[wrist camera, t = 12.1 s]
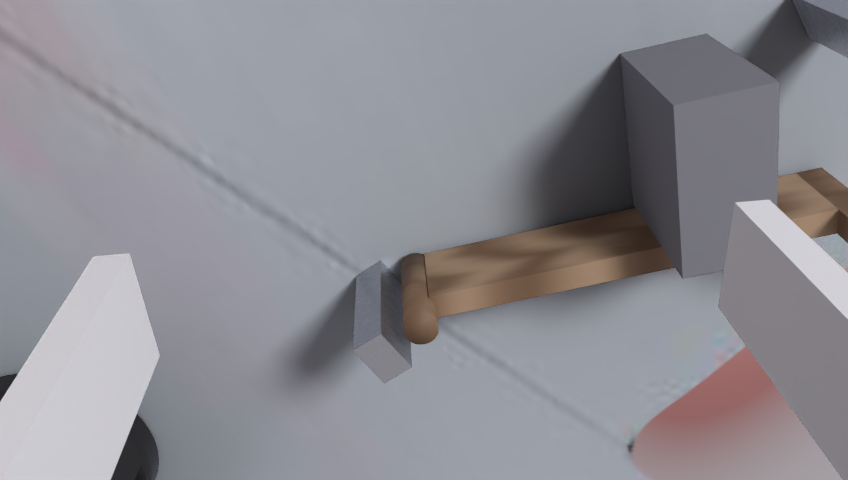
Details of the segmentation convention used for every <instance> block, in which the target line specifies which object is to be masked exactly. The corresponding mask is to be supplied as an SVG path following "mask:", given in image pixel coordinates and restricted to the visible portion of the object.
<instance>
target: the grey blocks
mask: <svg viewBox="0 0 848 480" xmlns="http://www.w3.org/2000/svg"><path fill="white" fill-rule="evenodd" d="M792 1H793V3H794V5H795V8H796V10H797V12H798V15H799V17H800V19H801V21H802V24H803V26H804V28H805V30H806V33H807V35H808V37H809V38H810V39H812V40H814V41H816V42H818V43H820V44H822V45H824V46H826V47H828V48H830V49H832V50H834V51H836V52H837V53H839V54H841V55H843V56H845V57H847V58H848V0H792ZM353 352H354V353H355V354H356V355H357V356H358V357H359V358H360V359H361V360H362V361H363V362H364V363H365V364H366V365H367V366H368V367H369V368H370V369H371V370H372V371H373V372H374V373H375V374H376V375H377V376H378V377H379V378H380V379H381V380H382V382H383V383H386V382H388V381H389V380H391V379H393V378H394V377H396V376H398V375H399V374H401V373H403V372H404V371H406V370H408V369H410V368H411V367H412V359H411V342H410V341H409V340H407V338H406V337H405V335H404V329H403V309H402V288H401V283H400V282H399V281H398V280H397V279H396V278H395V277H394V275H393V274H392V273H391V272H390V271H389V270H388V269H387V268H386V266H385V265H384V264H383V263H382V262H381V261H379V262H378V263H376V264H375V265H373V266H372V267H370V268H369V269H367V270H365V271H364V272H362V273H361V274H359V275H358V276H356V295H355V316H354V336H353Z"/></svg>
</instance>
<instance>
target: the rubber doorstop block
mask: <svg viewBox="0 0 848 480" xmlns="http://www.w3.org/2000/svg"><path fill="white" fill-rule="evenodd" d="M620 59H621V71H622V82H623V94H624V105H625V116H626V128H627V139H628V151H629V162H630V173H631V185H632V196H633V204H634V206H635V207H636V209H637V210H638V212H639V213H640V215H641V216H642V218H643V220H644V221H645V223H646V224H647V226H648V227H649V229H650V230H651V232H652V233H653V235H654V236H655V238H656V239H657V241H658V242H659V244H660V245H661V247H662V248H663V250H664V251H665V253H666V254H667V256H668V257H669V259H670V260H671V262H672V263H673V265H674V266H675V268H676V269H677V271H678V272H679V274H680V275H681V277H682V278H683V279H684V278H689V277H694V276H698V275H703V274H708V273H713V272H717V271H722V270H724V267H725V260H726V254H727V248H728V242H729V235H730V229H731V223H732V217H733V210H734V204H735V202H746V201H758V200H770V201H771V202H772V203H774V204H775V205H776V206H777V189H778V142H779V95H780V81H778V80H777V79H775V78H774V77H772V76H770V75H769V74H767V73H766V72H764V71H763V70H761V69H760V68H758V67H757V66H755V65H754V64H752V63H751V62H749V61H747V60H746V59H744V58H743V57H741V56H740V55H738V54H737V53H735V52H734V51H732V50H731V49H729V48H728V47H726V46H725V45H723V44H721V43H720V42H718V41H717V40H715V39H714V38H712V37H711V36H709V35H708V34H703V35H699V36H694V37H690V38H685V39H681V40H677V41H672V42H668V43H664V44H659V45H655V46H651V47H646V48H642V49H638V50H633V51H629V52H624V53H620Z"/></svg>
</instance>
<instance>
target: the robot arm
mask: <svg viewBox="0 0 848 480" xmlns="http://www.w3.org/2000/svg"><path fill="white" fill-rule="evenodd" d="M718 307H719V309H720V310H721V312H722V313H723V314H724V316H725V317H726V319H727V320H728V321H729V323H730V324H731V325H732V327H733V328H734V330H735V331H736V332H737V334H738V335H739V337H740V338H741V339H742V341H743V342H744V343H745V345H746V346H747V348H748V349H749V350H750V352H751V353H752V355H753V356H754V357H755V359H756V360H757V361H758V363H759V364H760V366H761V367H762V368H763V370H764V371H765V373H766V374H767V375H768V377H769V378H770V379H771V381H772V382H773V384H774V385H775V386H776V388H777V389H778V391H779V392H780V393H781V395H782V396H783V397H784V399H785V400H786V402H787V403H788V404H789V406H790V407H791V409H792V410H793V411H794V413H795V414H796V415H797V417H798V418H799V420H800V421H801V422H802V424H803V425H804V426H805V428H806V429H807V431H808V432H809V433H810V435H811V436H812V438H813V439H814V440H815V441H816V443H817V444H818V446H819V447H820V449H821V450H822V451H823V453H824V454H825V456H826V457H827V458H828V460H829V461H830V462H831V464H832V465H833V467H834V468H835V469H836V471H837V472H838V474H839V475H840V476H841V478H842V479H843V480H848V273H847V272H846V271H845V270H844V269H843V268H842V267H841V266H840V265H839V264H838V263H836V262H835V261H834V260H833V259H832V258H831V257H830V256H829V255H828V254H827V253H826V252H825V251H824V250H823V249H822V248H820V247H819V246H818V245H817V244H816V243H815V242H814V241H813V240H812V239H811V238H810V237H809V236H808V235H807V234H806V233H804V232H803V231H802V230H801V229H800V228H799V227H798V226H797V225H796V224H795V223H794V222H793V221H792V220H791V219H790V218H788V217H787V216H786V215H785V214H784V213H783V212H782V211H781V210H780V209H779V208H778V207H777V206H776V205H775V204H774V203H772V202H771V201H770V200H758V201H746V202H735V204H734V210H733V217H732V223H731V229H730V235H729V242H728V248H727V254H726V260H725V267H724V273H723V279H722V285H721V291H720V298H719V304H718ZM159 356H160V355H159V352H158V348H157V345H156V341H155V338H154V335H153V331H152V328H151V325H150V321H149V318H148V314H147V311H146V308H145V304H144V301H143V298H142V294H141V291H140V287H139V284H138V281H137V277H136V274H135V270H134V267H133V264H132V260H131V257H130V254H129V253H128V254H116V255H104V256H93V258H92V259H91V261H90V262H89V264H88V266H87V267H86V269H85V270H84V272H83V273H82V275H81V276H80V278H79V280H78V281H77V283H76V284H75V286H74V287H73V289H72V290H71V292H70V294H69V295H68V297H67V298H66V300H65V301H64V303H63V305H62V306H61V308H60V309H59V311H58V312H57V314H56V315H55V317H54V319H53V320H52V322H51V323H50V325H49V326H48V328H47V329H46V331H45V333H44V334H43V336H42V337H41V339H40V340H39V342H38V344H37V345H36V347H35V348H34V350H33V351H32V353H31V354H30V356H29V358H28V359H27V361H26V362H25V364H24V365H23V367H22V368H21V370H20V372H19V373H18V374H13V375H7V376H2V377H0V480H155V478H156V475H157V472H158V465H159V457H158V451H157V446H156V443H155V441H154V438H153V436H152V434H151V432H150V430H149V429H148V427H147V426H146V424H145V423H144V422H143V420H142V419H141V418H140V417H139V416H138V415H137V412H138V409H139V407H140V404H141V402H142V399H143V397H144V394H145V392H146V389H147V387H148V384H149V382H150V379H151V377H152V374H153V372H154V369H155V367H156V364H157V361H158V359H159Z"/></svg>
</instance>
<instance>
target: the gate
mask: <svg viewBox="0 0 848 480" xmlns="http://www.w3.org/2000/svg"><path fill="white" fill-rule="evenodd" d="M777 207H778V208H779V209H780V210H781V211H782V212H783V213H784V214H785V215H786V216H787V217H788V218H790V219H791V220H792V221H793V222H794V223H795V224H796V225H797V226H798V227H799V228H800V229H801V230H802V231H803V232H804V233H806V234H807V235H808V236H809V237H810V238H811V239H812V238H817V237H821V236H826V235H831V234H836V233H837V234H838V235H840V236H841V237H842V238H843V239H844V240H845V241H846V242H847V243H848V188H847V187H846V186H844V185H843V184H842V183H841V182H839V181H838V180H837V179H836V178H834V177H833V176H832V175H830V174H829V173H828V172H827V171H825V170H824V169H823V168H817V169H812V170H808V171H803V172H799V173H794V174H789V175H785V176H780V177H778V189H777ZM400 268H401V288H402V309H403V329H404V335H405V337H406V338H407V340H409V341H410V342H412V343H415V344H426V343H429V342H431V341H432V340H434V339H435V338H436V336H437V334H438V321H437V318H438V317H443V316H448V315H453V314H457V313H462V312H467V311H472V310H476V309H481V308H486V307H490V306H495V305H500V304H505V303H509V302H514V301H519V300H524V299H528V298H533V297H538V296H542V295H547V294H552V293H557V292H561V291H566V290H571V289H576V288H580V287H585V286H590V285H594V284H599V283H604V282H609V281H613V280H618V279H623V278H628V277H632V276H637V275H642V274H646V273H651V272H656V271H661V270H665V269H670V268H675V266H674V265H673V263H672V262H671V260H670V259H669V257H668V256H667V254H666V253H665V251H664V250H663V248H662V247H661V245H660V244H659V242H658V241H657V239H656V238H655V236H654V235H653V233H652V232H651V230H650V229H649V227H648V226H647V224H646V223H645V221H644V220H643V218H642V216H641V215H640V213H639V212H638V210H637V209H636V208H633V209H628V210H624V211H619V212H614V213H610V214H605V215H601V216H596V217H591V218H587V219H582V220H578V221H573V222H568V223H564V224H559V225H554V226H550V227H545V228H541V229H536V230H531V231H527V232H522V233H518V234H513V235H508V236H504V237H499V238H495V239H490V240H485V241H481V242H476V243H472V244H467V245H462V246H458V247H453V248H449V249H444V250H439V251H435V252H430V253H425V254H424V255H423V254H419V253H413V254H410V255H407V256H406V257H405V258H404V259H403V260H402V262H401V266H400Z"/></svg>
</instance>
